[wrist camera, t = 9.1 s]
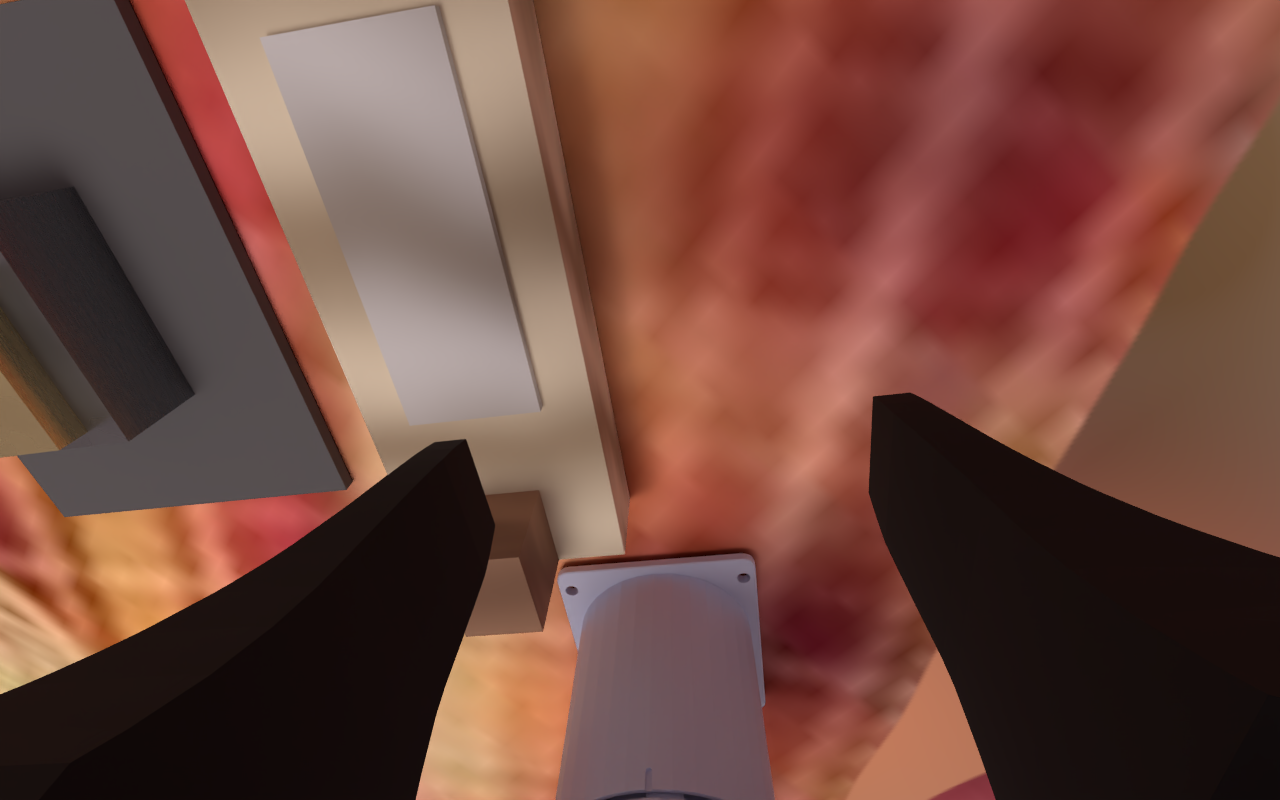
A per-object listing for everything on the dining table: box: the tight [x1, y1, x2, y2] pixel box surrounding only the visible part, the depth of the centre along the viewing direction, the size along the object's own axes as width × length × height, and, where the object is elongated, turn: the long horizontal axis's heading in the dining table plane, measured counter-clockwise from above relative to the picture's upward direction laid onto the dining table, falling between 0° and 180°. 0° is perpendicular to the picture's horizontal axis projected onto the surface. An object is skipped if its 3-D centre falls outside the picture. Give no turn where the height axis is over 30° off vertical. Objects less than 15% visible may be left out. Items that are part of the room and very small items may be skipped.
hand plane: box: [185, 0, 630, 637], centre depth 16 cm, size 22×7×6 cm, turn 8°
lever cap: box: [0, 187, 195, 458], centre depth 18 cm, size 7×4×4 cm, turn 9°
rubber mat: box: [0, 0, 352, 517], centre depth 20 cm, size 16×12×1 cm
